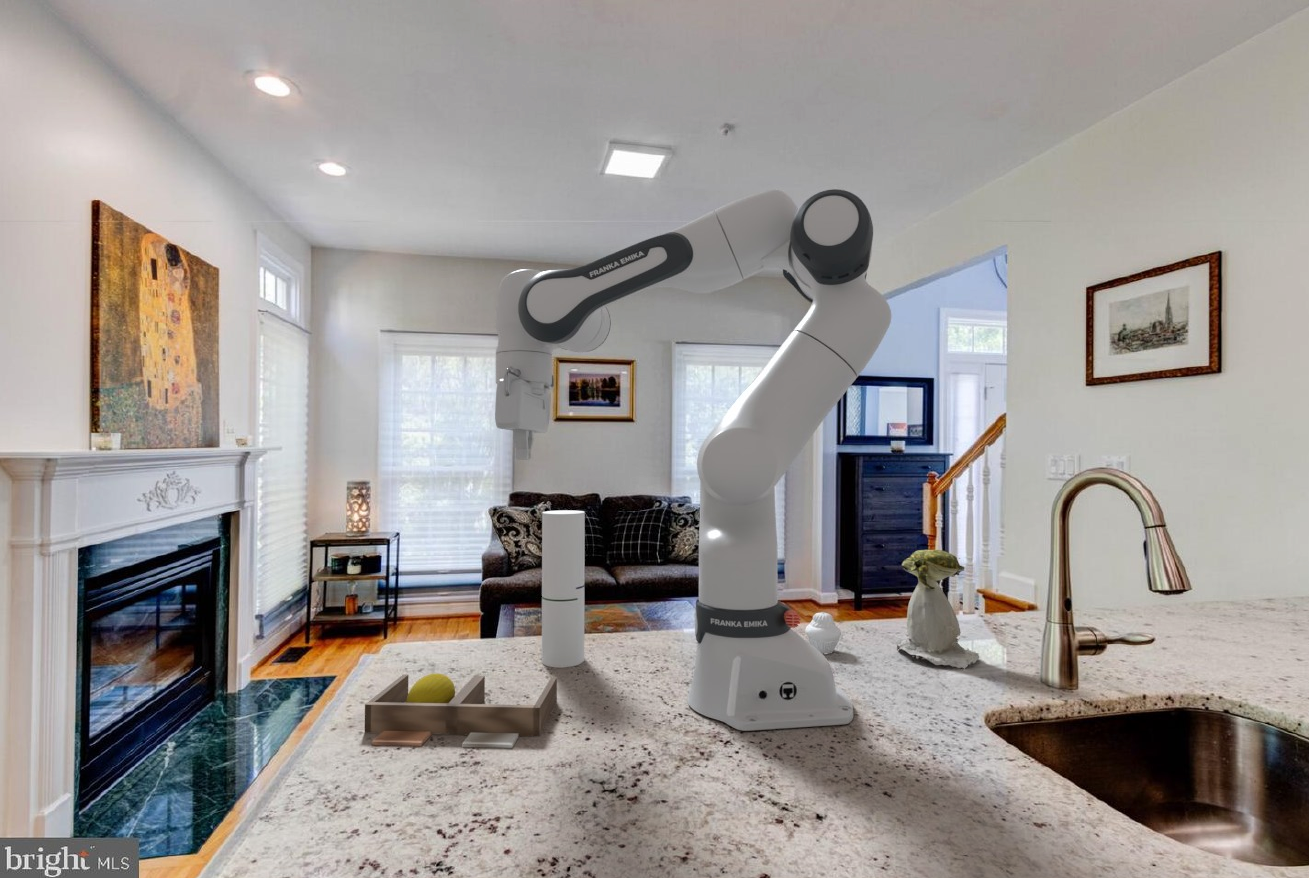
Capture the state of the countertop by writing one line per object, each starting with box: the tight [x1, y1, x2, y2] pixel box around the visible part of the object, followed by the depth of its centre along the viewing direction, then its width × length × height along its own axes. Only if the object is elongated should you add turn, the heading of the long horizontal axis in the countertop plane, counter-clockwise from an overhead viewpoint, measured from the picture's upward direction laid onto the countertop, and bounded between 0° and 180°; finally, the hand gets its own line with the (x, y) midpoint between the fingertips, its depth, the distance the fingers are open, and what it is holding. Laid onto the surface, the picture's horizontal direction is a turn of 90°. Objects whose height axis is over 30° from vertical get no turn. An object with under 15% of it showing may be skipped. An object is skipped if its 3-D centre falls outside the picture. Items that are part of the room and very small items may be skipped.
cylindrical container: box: [541, 509, 586, 668], centre depth 108 cm, size 7×7×25 cm
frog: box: [896, 549, 980, 669], centre depth 110 cm, size 12×13×18 cm
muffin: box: [804, 611, 842, 654], centre depth 112 cm, size 6×6×7 cm
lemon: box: [406, 672, 456, 704], centre depth 84 cm, size 6×6×8 cm
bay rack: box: [364, 674, 558, 749], centre depth 83 cm, size 22×14×4 cm, turn 87°
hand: (523, 459), depth 101 cm, fingers closed
